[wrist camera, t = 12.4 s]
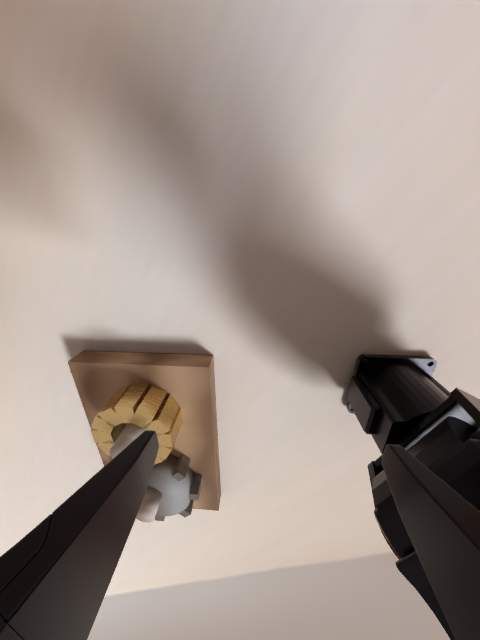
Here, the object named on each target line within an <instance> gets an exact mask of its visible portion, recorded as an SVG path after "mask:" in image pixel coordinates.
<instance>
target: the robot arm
mask: <svg viewBox="0 0 480 640" xmlns="http://www.w3.org/2000/svg"><path fill="white" fill-rule="evenodd" d="M365 359H366V361H364V362H362V361H363V360H365ZM429 362H430V363H429ZM436 364H437V362H436V360H434V359H433V358H432V357H423V356H393V355H361V356H359V357H358V360H357V364H356V368H355V373H354V376H353V377H352V378H351V382H350V386H349V391H348V395H347V399H348V403H347V409H348V411H349V412H350V413H355V415H356V417H357V419H358V420H359V422H360V424H361V426H362V428H363V430H364V431H365V433H366V434H371V435H372V437H373V439H374V440H375V442H376V444H377V446H378V448H379V450H380V451H381V453H382V455H381V456H380V457H379V458H378V459H377V460H376V461H372V462H371V463H370V464H369V465H368V470H369V476H370V481H371V487H372V493H373V499H374V505H375V510H374V513H375V518H376V520H377V522H378V524H379V527H380V529H381V532H382V534H383V536H384V537H385V539H386V541H387V543H388V545H389V546H390V548H391V549H392V551H393V552H394V554H395V555H396V556H397V557H398V559H399V560H398V561H397V562H396V566H397V568H398V570H399V571H400V572H401V573H402V574H403V575H404V576H405V578H406V579H407V580H408V581H409V582H410V583H411V584H412V585H413V586H414V587H415V588H416V590H417V591H418V592H419V594H420V595H421V596H422V598H423V599H424V600H425V602H426V603H427V604H428V606H429V607H430V608H431V610H432V611H433V612H434V614H435V615H436V617H437V618H438V620H439V622H440V623H441V625H442V626H443V628H444V629H445V631H446V633H447V634H448V636H449V637H450V639H451V640H480V399H478V398H476V397H474V396H472V395H470V394H468V393H466V392H464V391H462V390H460V389H458V388H456V389H454V390H453V391H452V392H451V393H450V392H449V391H448V390H446V389H445V388H444V387H443V386H442V385H441V384H439V383H438V382H437V381H436V380H435V379H434V378H433V377H432V375H433V372H434V370H435V367H436ZM158 450H159V443H158V438H157V433H156V431H154V430H146V431H144V432H143V433H142V434H140V435H139V436H138V437H137V438H136V439H135V440H134V441H133V442H131V443H130V444H129V445H128V446H127V447H126V448H125V449H124V450H122V451H121V452H120V453H119V454H118V455H117V456H116V457H115V458H113V459H112V460H111V461H110V462H109V463H108V464H107V465H106V466H104V467H103V468H102V469H101V470H100V471H99V472H98V473H96V474H95V475H94V476H93V477H92V478H91V479H90V480H89V481H87V482H86V483H85V484H84V485H83V486H82V487H81V488H80V489H78V490H77V491H76V492H75V493H74V494H73V495H72V496H71V497H69V498H68V499H67V500H66V501H65V502H64V503H63V504H62V505H60V506H59V507H58V508H57V509H56V510H55V511H54V512H53V513H52V514H50V515H49V516H48V517H47V518H46V519H44V520H43V521H42V522H41V523H40V524H39V525H38V526H37V527H35V528H34V529H33V530H32V531H31V532H30V533H28V534H27V535H26V536H25V537H24V538H23V539H21V540H20V541H19V542H18V543H17V544H16V545H14V546H13V547H12V548H11V549H9V550H8V551H7V552H6V553H4V554H3V555H2V556H1V557H0V640H87V638H88V636H89V633H90V630H91V628H92V626H93V623H94V621H95V618H96V616H97V613H98V611H99V608H100V606H101V603H102V601H103V598H104V596H105V593H106V591H107V588H108V586H109V583H110V581H111V578H112V576H113V573H114V571H115V568H116V566H117V563H118V561H119V558H120V556H121V553H122V551H123V548H124V546H125V543H126V541H127V538H128V536H129V533H130V531H131V528H132V526H133V524H134V521H135V519H136V516H137V514H138V511H139V509H140V506H141V504H142V501H143V498H144V496H145V493H146V490H147V487H148V484H149V480H150V477H151V474H152V470H153V467H154V463H155V460H156V457H157V453H158Z"/></svg>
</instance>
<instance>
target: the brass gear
mask: <svg viewBox="0 0 480 640" xmlns="http://www.w3.org/2000/svg"><path fill="white" fill-rule="evenodd" d="M166 394H167V391H165V390H162V389H160V388H158V387H156V386H154V385H152V387H151V388H150V387H149V384H140V383H133V384H132V385H130V384H129V385H127V386H125V387H123V388H121V389H119V390H117V392H115V394H114V395H113V396H112V397H111V398H110V400H109V401H108V402H107V403H106V404H105V406H104V407H103V408H102V409H101V410H100V411H99V413H98V414H97V415H96V416H95V418H94V421H93V423H92V426H91V428H92V430H91V432H92V435H93V438H94V440H95V443H99V444H98V445H97V446H98V447H99V448H100V449H102V450H103V451H104V452H105V453H106V454H107V455H108V456H110V449H111V447H112V446H113V444H114V443H115V441H116V440H117V438H118V437H119V435H120V434H121V432H122V431H123V429H124V427H125V426H126V424H127V423H131V424H135V425H137V426H140V427H142V428H144V429H145V430H154V431H156V433H157V438H158V443H159V450H158V453H157V457H156V460H155V463H154V465H155V464H157V463H160V462H163V460H164V459H165V460H166V458H167V457H168V455H169V454H170V452H171V451H172V448H173V446H174V443H175V440H176V438H177V435H178V432H179V430H180V427H181V424H182V421H183V418H182V410H181V408H179V406H180V405H179V404H178V402H177V401H176V400H175V399H174V398H173V397H172V395H171V394H170V395H168V396H166Z"/></svg>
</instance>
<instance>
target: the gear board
mask: <svg viewBox="0 0 480 640" xmlns="http://www.w3.org/2000/svg"><path fill="white" fill-rule="evenodd" d="M68 364H69V367H70V370H71V373H72V375H73V378H74V381H75V384H76V387H77V390H78V393H79V396H80V398H81V401H82V404H83V407H84V410H85V413H86V416H87V418H88V421H89V424H90V427H91V426H92V423H93V421H94V418H95V416H96V415H97V414H98V413H99V411H100V410H101V409H102V408H103V407H104V406H105V404H106V403H107V402H108V401H109V400H110V398H111V397H112V396H113V395H114V394H115V392H117V390H119V389H121V388H123V387H125V386H127V385H129V384H130V385H132V384H133V383H140V384H149V387H150V388H151V387H152V385H154V386H156V387H158V388H160V389H162V390H165V391H167V394H166V396H168V395H170V394H171V395H172V397H173V398H174V399H175V400H176V401H177V402H178V404H179V405H180V406H179V408H181V410H182V418H183V421H182V424H181V427H180V430H179V432H178V435H177V438H176V440H175V443H174V446H173V448H172V451H171V452H170V454H169V455H168V457H167V458H166V460H165V459H164V460H163V462H160V463H157V464H155V465H154V467H153V470H152V474H151V477H150V480H149V484H148V487H147V490H146V493H145V496H144V498H143V501H142V504H141V506H140V509H139V511H138V514H137V516H136V518H137V519H138V520H140V521H143V522H152V521H153V520H154V518H155V520H157V521H164V518H165V516H172V515H176V514H178V513H179V514H180V515H182V516H184V517H187V516H188V515H190V514H191V511H192V509H205V510H217V511H218V510H219V503H220V496H221V487H220V469H219V451H218V433H217V415H216V397H215V379H214V361H213V355H190V354H162V353H133V352H104V351H82V352H81V353H80V354H78V355H77V356H75V357H74V358H73V359H71V360H70V361H69V362H68ZM91 430H92V428H91ZM144 431H146V430H145V429H144V428H142V427H140V426H137V425H135V424H131V423H127V424H126V426H125V427H124V429H123V431H122V432H121V434H120V435H119V437H118V438H117V440H116V441H115V443H114V444H113V446H112V447H111V449H110V456H108V455H107V454H106V453H105V452H104V451H103V450H102V449H100V448H99V447H98V446H97V447H98V450H99V453H100V456H101V458H102V461H103V464H104V466H106V465H107V464H108V463H109V462H110V461H111V460H112V459H113V458H115V457H116V456H117V455H118V454H119V453H120V452H121V451H122V450H124V449H125V448H126V447H127V446H128V445H129V444H130V443H131V442H133V441H134V440H135V439H136V438H137V437H138V436H139V435H140V434H142V433H143V432H144ZM96 444H97V445H98V444H99V443H96Z"/></svg>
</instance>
